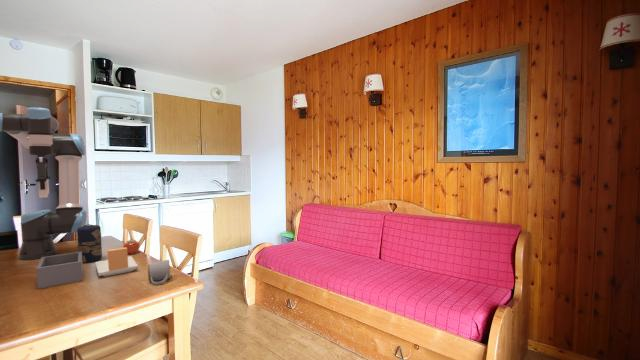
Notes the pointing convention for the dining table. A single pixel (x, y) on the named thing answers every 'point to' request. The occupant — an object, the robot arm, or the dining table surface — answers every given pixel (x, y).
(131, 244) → the tomato
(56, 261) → the tub
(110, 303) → the dining table surface
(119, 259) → the lid
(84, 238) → the canister
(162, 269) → the ceramic mug
